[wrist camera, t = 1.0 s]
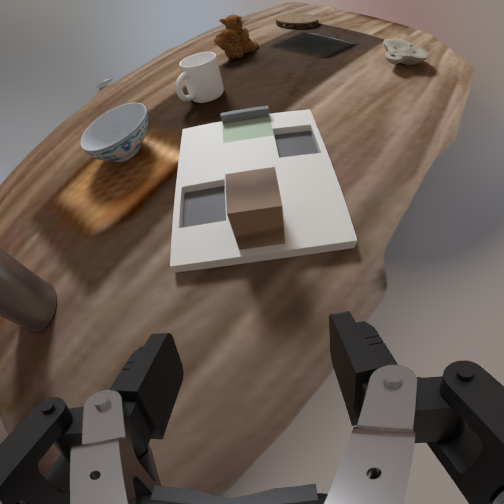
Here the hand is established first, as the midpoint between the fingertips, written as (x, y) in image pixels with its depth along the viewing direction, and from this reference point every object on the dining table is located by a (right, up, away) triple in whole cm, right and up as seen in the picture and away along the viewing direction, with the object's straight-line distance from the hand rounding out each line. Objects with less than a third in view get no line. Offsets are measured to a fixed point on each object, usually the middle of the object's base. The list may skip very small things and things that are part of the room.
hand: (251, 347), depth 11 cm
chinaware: (-27, +25, +46) cm, 59 cm away
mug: (-12, +39, +52) cm, 66 cm away
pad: (-1, +25, +42) cm, 49 cm away
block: (+1, +7, +29) cm, 30 cm away
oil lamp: (+44, +59, +55) cm, 92 cm away
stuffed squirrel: (-4, +63, +64) cm, 90 cm away
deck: (0, +15, +37) cm, 40 cm away
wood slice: (+17, +90, +76) cm, 119 cm away
